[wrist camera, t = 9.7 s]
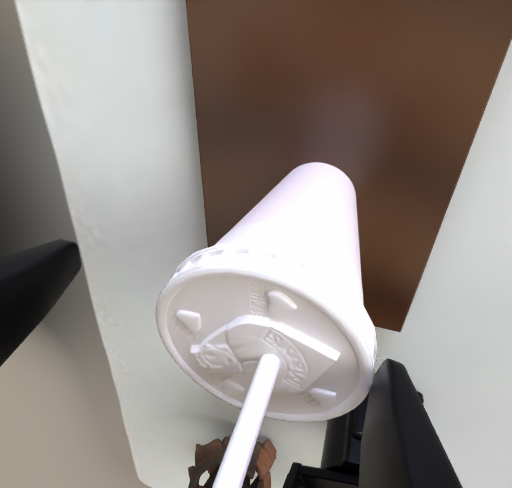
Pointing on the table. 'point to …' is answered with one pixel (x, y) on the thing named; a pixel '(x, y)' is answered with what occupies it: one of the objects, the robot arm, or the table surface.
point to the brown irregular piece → (213, 456)
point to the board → (346, 114)
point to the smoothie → (276, 312)
